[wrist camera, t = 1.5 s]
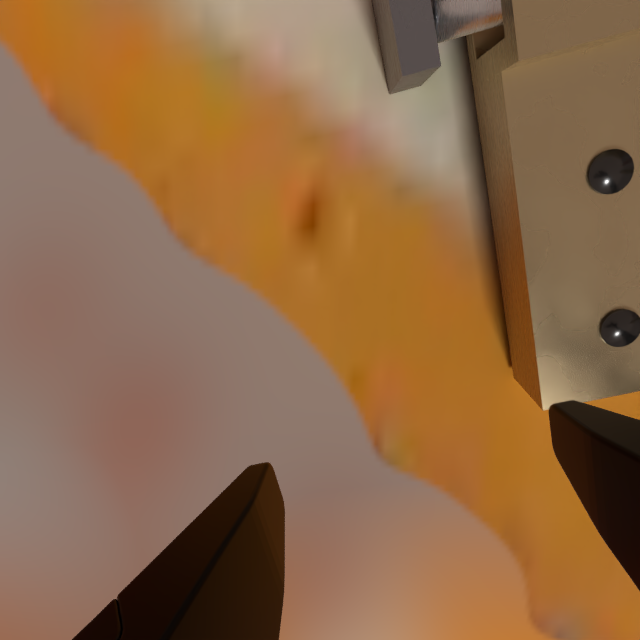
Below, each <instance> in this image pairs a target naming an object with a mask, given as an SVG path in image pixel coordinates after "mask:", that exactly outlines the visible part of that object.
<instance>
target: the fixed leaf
mask: <svg viewBox="0 0 640 640" xmlns="http://www.w3.org/2000/svg"><path fill="white" fill-rule="evenodd" d="M372 4H373V10H374V15H375V20H376V25H377V31H378V36H379V41H380V47H381V52H382V57H383V63H384V68H385V73H386V79H387V84H388V89H389V94H392V93H396V92H400V91H403V90H407V89H410V88H414V87H418V86H421V85H422V84H423V83H424V82H425V81H426V80H427V79H428V78H429V77H430V76H431V75H432V74H433V73H434V72H435V71H436V70H437V69H438V68H439V67H440V66H441V63H440V56H439V50H438V44H437V43H441V42H444V41H448V40H451V39H455V38H458V37H462V36H465V35H469V34H472V33H476V32H480V31H483V30H487V29H490V28H494V27H497V26H501V25H503V16H502V8H501V0H372Z"/></svg>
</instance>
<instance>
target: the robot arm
mask: <svg viewBox="0 0 640 640" xmlns="http://www.w3.org/2000/svg"><path fill="white" fill-rule="evenodd" d="M549 420H550V429H551V437H552V445H553V449H554V452H555V455H556V457H557V459H558V461H559V463H560V465H561V466H562V468H563V470H564V472H565V474H566V475H567V477H568V479H569V481H570V483H571V484H572V486H573V488H574V490H575V491H576V493H577V495H578V497H579V499H580V500H581V502H582V504H583V506H584V508H585V509H586V511H587V513H588V515H589V516H590V518H591V520H592V522H593V523H594V525H595V527H596V529H597V530H598V532H599V534H600V535H601V537H602V538H603V540H604V541H605V542H606V544H607V545H608V547H609V548H610V550H611V551H612V553H613V554H614V555H615V557H616V558H617V560H618V561H619V562H620V564H621V565H622V567H623V568H624V569H625V571H626V572H627V574H628V575H629V576H630V578H631V579H632V581H633V582H634V583H635V585H636V586H637V588H638V589H639V590H640V420H638V419H634V418H631V417H628V416H624V415H621V414H618V413H615V412H611V411H608V410H605V409H601V408H598V407H595V406H592V405H588V404H585V403H582V402H578V401H575V400H569V401H565V402H560V403H555V404H552V405H551V406H550V407H549ZM284 561H285V509H284V501H283V497H282V494H281V491H280V488H279V485H278V482H277V479H276V475H275V472H274V470H273V467H272V465H271V464H270V463H268V462H266V463H260V464H255V465H251V466H249V467H247V468H246V469H245V470H244V471H243V472H242V473H241V474H240V475H239V476H238V477H237V478H236V479H235V480H234V481H233V482H232V483H231V484H230V485H229V486H228V487H227V488H226V489H225V490H224V491H223V492H222V493H221V494H220V495H219V496H218V497H217V498H216V499H215V500H214V501H213V502H212V503H211V504H210V505H209V506H208V507H207V508H206V509H205V510H204V511H203V512H202V513H201V514H200V515H199V516H198V517H197V518H196V519H195V520H194V521H193V522H191V523H190V525H188V526H187V527H186V528H185V529H184V530H183V531H182V532H181V533H180V534H179V535H178V536H177V537H176V538H175V539H174V540H173V541H172V542H171V543H170V544H169V545H168V546H167V547H166V548H165V549H164V550H163V551H162V552H161V553H160V554H159V555H158V556H157V557H156V558H155V559H154V560H153V561H152V562H151V563H150V564H149V565H148V566H147V567H146V568H145V569H144V570H143V571H142V572H141V573H140V574H139V575H138V576H137V577H136V578H135V579H134V580H133V581H132V582H131V583H130V584H129V585H128V586H127V587H125V589H123V590H122V591H121V592H120V593H119V594H118V597H117V599H113V600H112V601H111V602H110V603H109V604H108V605H107V606H106V607H105V608H104V609H103V610H102V611H101V612H100V613H99V614H98V615H97V616H96V617H95V618H94V619H93V620H92V621H91V622H90V623H89V624H88V625H87V626H86V627H85V628H84V629H83V630H81V631H80V632H79V633H78V634H77V635H76V636H75V637H74V638H73V639H72V640H279V633H280V624H281V615H282V607H283V597H284V576H285V574H284V573H285V562H284Z"/></svg>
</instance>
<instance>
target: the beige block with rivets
mask: <svg viewBox="0 0 640 640" xmlns="http://www.w3.org/2000/svg"><path fill="white" fill-rule="evenodd" d="M501 8H502V16H503V25H501V26H497V27H494V28H490V29H487V30H483V31H480V32H476V33H472V34H469V35H466V39H467V46H468V53H469V60H470V67H471V75H472V82H473V89H474V96H475V103H476V110H477V118H478V125H479V132H480V139H481V146H482V153H483V161H484V168H485V175H486V182H487V189H488V196H489V204H490V211H491V218H492V225H493V232H494V239H495V247H496V254H497V261H498V268H499V275H500V283H501V290H502V297H503V304H504V311H505V318H506V326H507V333H508V340H509V347H510V354H511V361H512V369H513V376H514V379H515V380H516V381H517V382H518V383H519V384H520V385H521V386H522V388H523V389H524V390H525V391H526V392H527V393H528V394H529V395H530V397H531V398H532V399H533V400H534V401H535V402H536V403H537V404H538V406H539V407H540V408H541V409H542V410H548V409H549V407H550V406H551V405H552V404H555V403H560V402H565V401H569V400H575V401H578V402H587V401H592V400H597V399H602V398H607V397H612V396H617V395H622V394H627V393H632V392H637V391H640V0H501Z"/></svg>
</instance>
